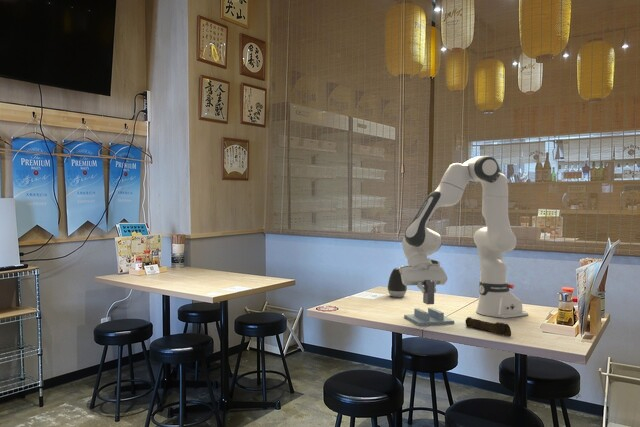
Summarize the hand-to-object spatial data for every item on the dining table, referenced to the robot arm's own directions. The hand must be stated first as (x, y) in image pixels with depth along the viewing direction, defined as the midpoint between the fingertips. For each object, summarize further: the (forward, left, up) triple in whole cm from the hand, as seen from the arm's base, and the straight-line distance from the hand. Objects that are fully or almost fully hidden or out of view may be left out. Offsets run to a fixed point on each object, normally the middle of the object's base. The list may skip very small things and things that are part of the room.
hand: (429, 292), depth 201 cm
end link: (0, -1, -5) cm, 5 cm away
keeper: (0, -1, -12) cm, 12 cm away
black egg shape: (-8, -52, -12) cm, 54 cm away
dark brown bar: (-16, +19, -13) cm, 28 cm away
